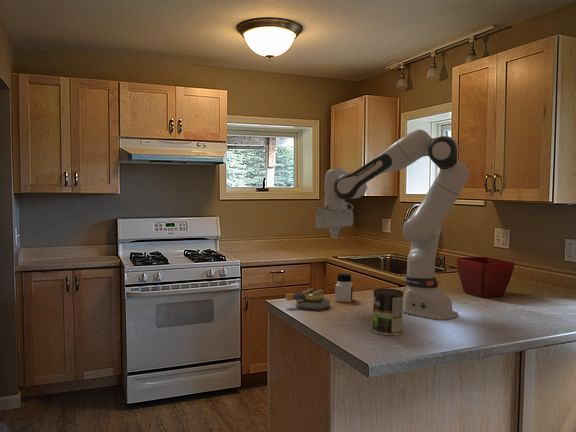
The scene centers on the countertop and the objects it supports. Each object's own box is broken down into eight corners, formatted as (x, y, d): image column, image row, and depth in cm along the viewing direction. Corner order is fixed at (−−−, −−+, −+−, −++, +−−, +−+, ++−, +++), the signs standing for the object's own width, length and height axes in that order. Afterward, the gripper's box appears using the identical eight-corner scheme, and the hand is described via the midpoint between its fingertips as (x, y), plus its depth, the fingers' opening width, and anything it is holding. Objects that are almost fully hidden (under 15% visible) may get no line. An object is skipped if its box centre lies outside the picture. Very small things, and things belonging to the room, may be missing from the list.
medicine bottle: (351, 302, 217) (351, 275, 216) (334, 301, 218) (335, 274, 217) (352, 299, 224) (353, 272, 223) (336, 298, 225) (337, 271, 224)
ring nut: (319, 296, 214) (319, 288, 214) (327, 301, 205) (327, 292, 205) (283, 298, 209) (283, 289, 209) (289, 303, 200) (289, 294, 200)
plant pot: (514, 297, 233) (516, 261, 232) (482, 300, 226) (484, 263, 225) (484, 289, 251) (485, 256, 250) (454, 291, 244) (455, 257, 243)
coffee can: (376, 335, 169) (377, 294, 168) (369, 327, 179) (370, 288, 178) (406, 335, 169) (407, 294, 169) (397, 326, 180) (398, 288, 179)
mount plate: (336, 307, 207) (336, 300, 207) (311, 312, 198) (311, 305, 198) (314, 300, 218) (314, 294, 218) (289, 305, 209) (289, 298, 209)
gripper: (322, 206, 207) (322, 239, 207) (355, 205, 220) (355, 236, 220) (311, 206, 211) (311, 238, 212) (345, 205, 225) (345, 235, 225)
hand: (334, 237), depth 216 cm, fingers closed
